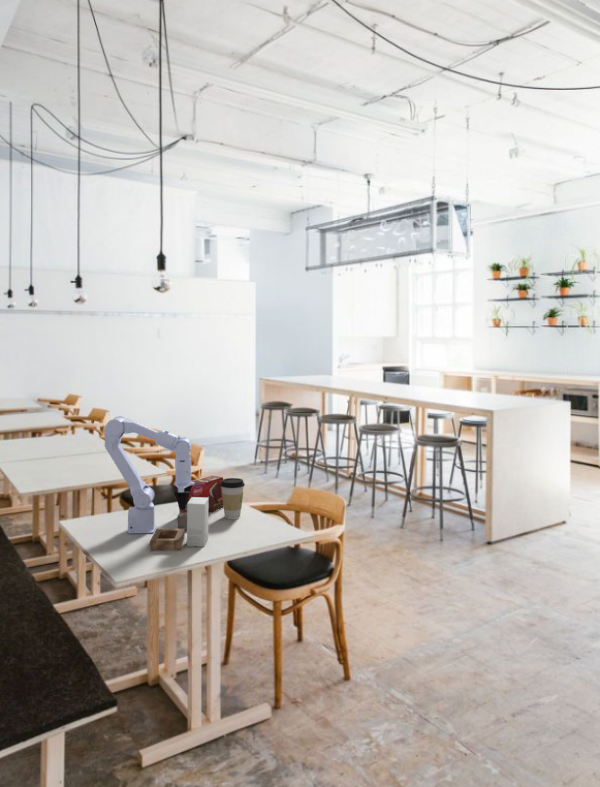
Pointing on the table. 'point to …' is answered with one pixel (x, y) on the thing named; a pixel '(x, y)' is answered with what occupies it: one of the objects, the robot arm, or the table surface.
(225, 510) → the coffee cup
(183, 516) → the tall grey block
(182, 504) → the robot arm
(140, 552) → the table surface
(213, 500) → the ice cream box
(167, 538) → the well block
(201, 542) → the skincare box
